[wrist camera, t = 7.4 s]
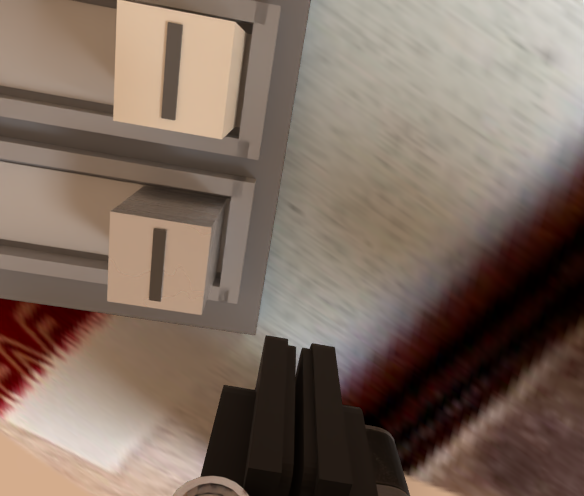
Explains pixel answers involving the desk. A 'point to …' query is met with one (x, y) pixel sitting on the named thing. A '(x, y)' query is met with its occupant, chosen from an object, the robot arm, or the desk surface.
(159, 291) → the beige block
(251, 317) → the panel
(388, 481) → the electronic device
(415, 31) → the desk surface
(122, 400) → the desk surface
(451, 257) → the desk surface
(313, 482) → the robot arm
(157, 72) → the ivory knob
